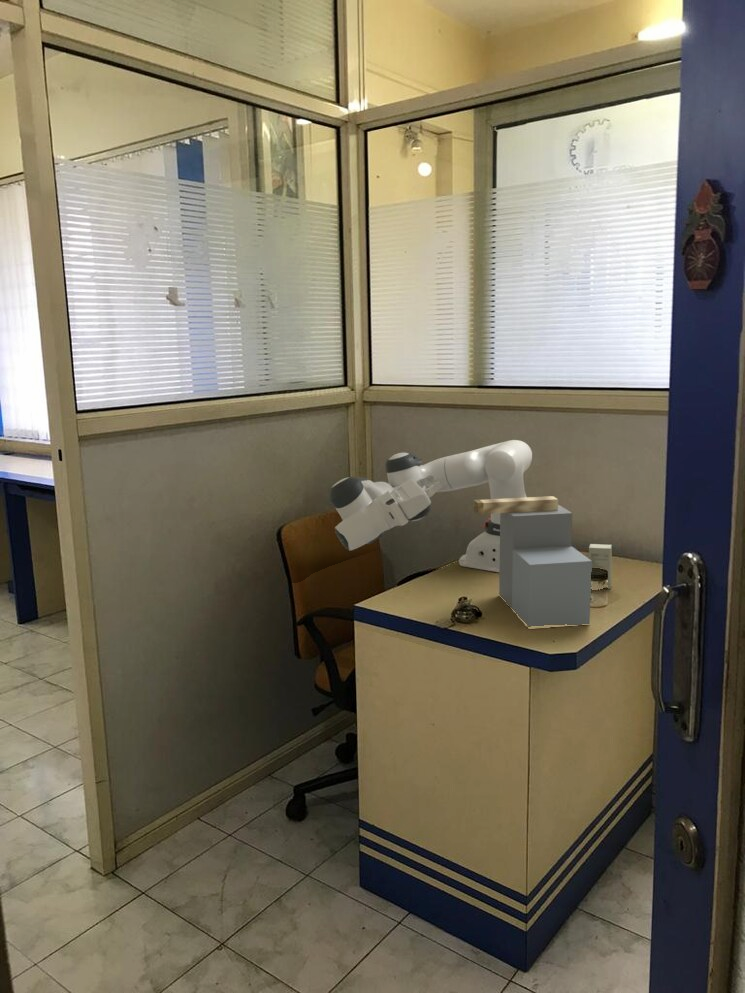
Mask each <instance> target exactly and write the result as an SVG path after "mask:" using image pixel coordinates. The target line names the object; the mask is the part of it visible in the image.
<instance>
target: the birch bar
mask: <svg viewBox="0 0 745 993" xmlns="http://www.w3.org/2000/svg"><path fill="white" fill-rule="evenodd" d="M558 505H559V499H558V498H557V497H555V496H553V495H552V496H551V495H548V496H527V497H525V498H505V499H491V498H490V499H488V498H487V499H473V512H474V513H476V514H477V515H489V514H490V515H491V514H494V513H513V512H532V511H551V510H558Z"/></svg>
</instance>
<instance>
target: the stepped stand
mask: <svg viewBox="0 0 745 993" xmlns="http://www.w3.org/2000/svg"><path fill="white" fill-rule="evenodd" d="M572 527H573V513H572V512H571V511H570V510H569V509H567V508H565V507H563V506H561V505H560V504H558V510H551V511H532V512H513V513H500V569H499V572H498V573H499V577H498V578H499V582H498V583H499V584H498V587H499V588H498V592H499V593H498V596H499V595H500V596H501V597H502V598H503V599H504V600H505V601H506V603H507V604H508V605H509V606H510V607H511V608H512V609H513V610H514V611H515V612H516V614H518V616H519V617H520V618H521V619H522V620H523V621H524V622H525V623H526V624H527V626H528V627H531V626H544V625H565V624H567V625H582V624H590V620H591V619H590V618H591V598H592V595H591V592H592V588H591V572H592V561H591V560H590V559H589V557H587V556H586V555H584V554H583V553H582V552H580V551H579V550H577V549H576V548H575V547H574V546H572V538H573V537H572V536H573V535H572V534H573V531H572V530H573V528H572ZM500 596H499V597H500ZM506 603H505V604H506ZM507 604H506V605H507ZM590 625H591V624H590Z"/></svg>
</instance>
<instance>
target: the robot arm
mask: <svg viewBox="0 0 745 993" xmlns="http://www.w3.org/2000/svg"><path fill="white" fill-rule="evenodd" d="M532 460H533V451H532V449H531V447H530V446H529V445H528V444H527V442H525V441H522V440H517V439H512V440H511V439H510V440H506V441H503V442H499V443H494V444H490V445H487V446H483V447H480V448H477V449H473V450H469V451H465V452H460V453H455V454H452V455H448V456H444V457H440V458H437V459H435V460H431V461H430V462H429V461H428V462H427V463H425V464H421V463H423V462H424V459H422V458H419V457H418V456H417V455H415V454H413V453H412V452H398V453H396V454H393V455H392V456H391V457H389V458H388V459H386V461H385V463H384V465H385V466H384V468H385V473H386V475H387V481H388V482H386V481H375V482H374V481H373V480H370V479H369V478H367V477H364V476H363V477H362V476H360V477H355V476H350V477H349V476H348V477H345V478H342V479H340V480H338V481H337V482H335V483H334V484H333V485H332V486H331V487H330V489H329V494H328V501H329V502H330V503H331V504H332V506H333V507H334V508H335V509H336V511H337V513H338V514H339V516H340V517H341V520H342V521H341V522H339V523H338V524H337V525H336V526H335V527H334V534H335V535H336V537H337V539H338V541H339V542H340V543H341V545H342V546H343V548H344V549H345V550H348V551H353V550H356V549H358V548H360V547H363V546H364V545H371V544H373V543H374V542H376V541H377V540H379V539H380V538H382V537H383V536H384V534H385V531H388V530H391V529H393V528H394V527H397V526H401V527H402V526H405V525H406V524H408V523H409V522H415V521H420V520H422V519H423V518H425V517H427V516H428V515H429V514H430V513H431V504H432V501H431V499H430V498H431V497H433V496H434V495H435V494H436V493H444V492H452V491H456V490H462V489H466V488H471V487H476V486H480V485H483V484H486V483H488V487H489V492H490V499H505V498H525V497H528V496H527V493H526V490H525V484H524V483H525V481H524V472H526V471H527V470H528V469H529V468H530V466H531V463H532ZM483 529H484V531H483V532H482V533H480V534H479V535H478V536H476V537H475V538H474V539H472V540H471V541H469V544H468V545H467V548H466V553H465V554H463V555H462V556H460V557H459V560H458V564H459V565H460V567H465V568H471V569H475V570H476V569H477V570H484V571H488V572H496V573H499V569H500V513H494V514H490V517H488V519H486V520H485V522H484V524H483Z"/></svg>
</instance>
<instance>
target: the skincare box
mask: <svg viewBox="0 0 745 993" xmlns="http://www.w3.org/2000/svg"><path fill="white" fill-rule="evenodd" d="M588 546H589V547H588V559H590V560H591V561H592V568H600V569H605V570H607V571H608V583H607V585H608V589H609V590H610V589H611V587H612V559H613V558H612V557H613V556H612V555H613V554H612V553H613V552H612V550H613V549H612V548H613V547H612V544H605V543H604V544H603V543H602V544H598V543H590V544H589V545H588ZM608 589H607V590H608Z"/></svg>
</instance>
